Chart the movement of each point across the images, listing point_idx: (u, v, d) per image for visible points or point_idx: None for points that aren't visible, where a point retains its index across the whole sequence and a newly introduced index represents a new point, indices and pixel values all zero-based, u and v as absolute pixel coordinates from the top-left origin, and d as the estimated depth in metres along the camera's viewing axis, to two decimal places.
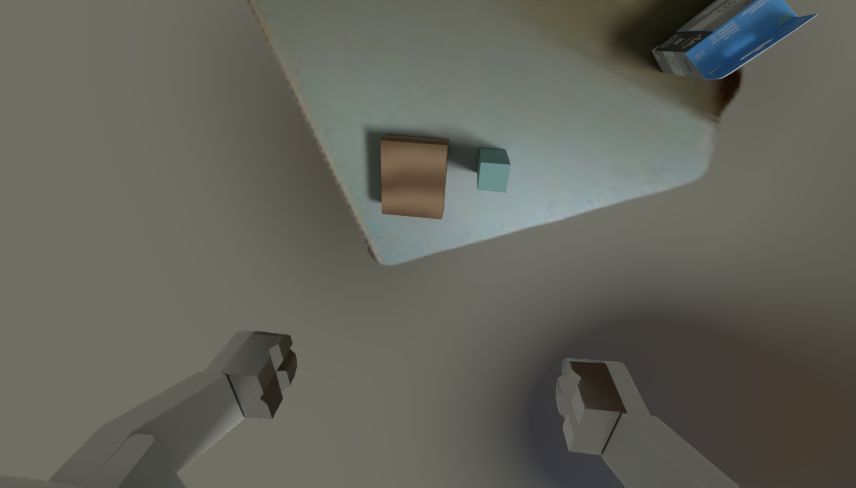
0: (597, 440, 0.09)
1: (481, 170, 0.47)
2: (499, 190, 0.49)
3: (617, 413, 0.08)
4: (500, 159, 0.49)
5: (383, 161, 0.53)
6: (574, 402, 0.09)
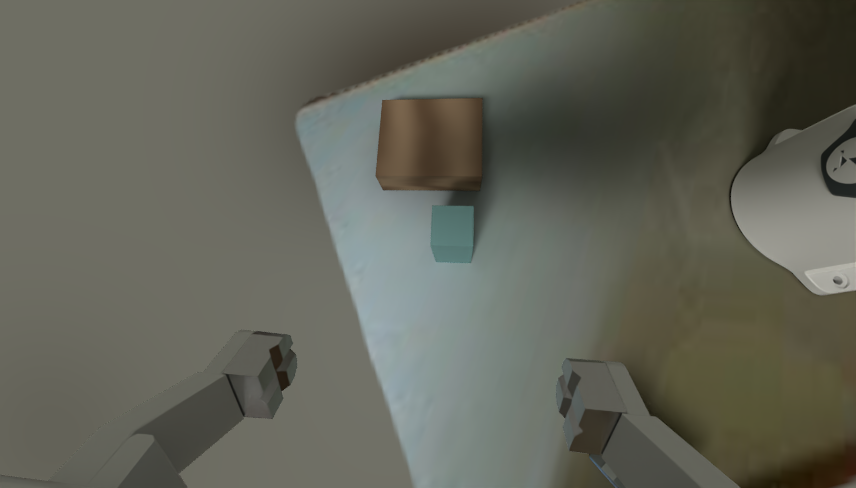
0: (597, 440, 0.09)
1: (461, 207, 0.33)
2: (433, 236, 0.33)
3: (617, 413, 0.08)
4: None
5: (455, 101, 0.41)
6: (575, 402, 0.09)
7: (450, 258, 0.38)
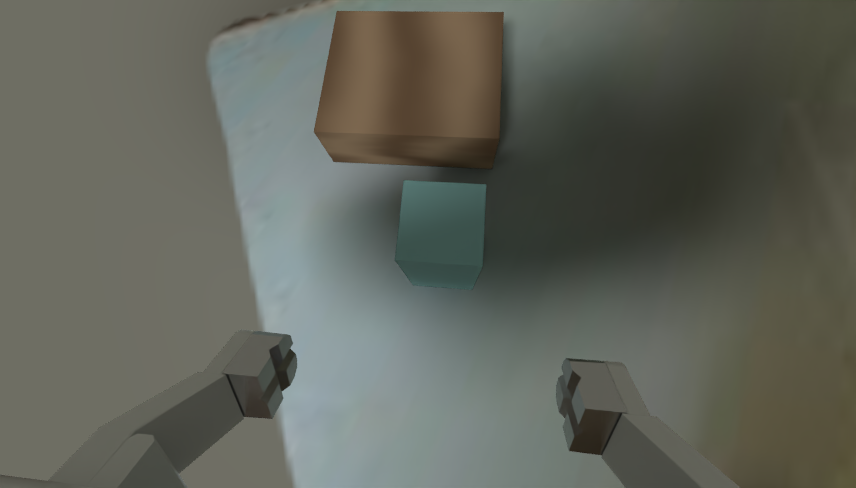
0: (597, 440, 0.09)
1: (462, 187, 0.16)
2: (401, 241, 0.16)
3: (617, 413, 0.08)
4: None
5: (457, 16, 0.24)
6: (574, 402, 0.09)
7: (437, 282, 0.21)
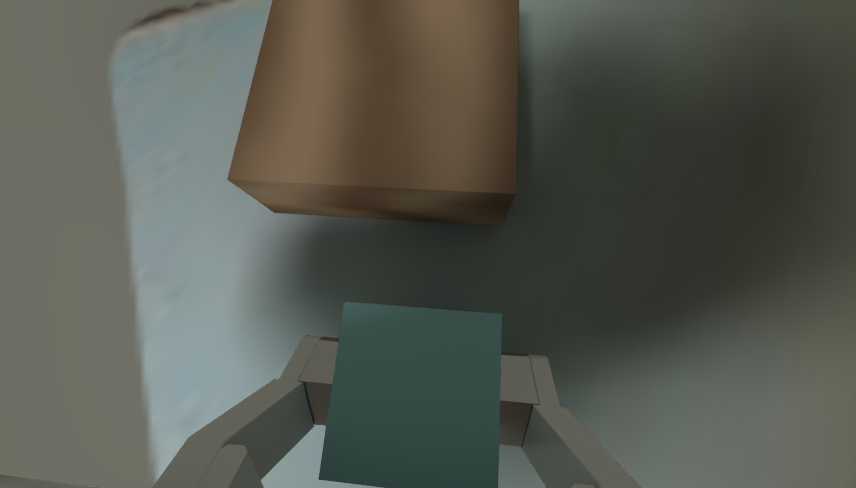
0: (515, 431, 0.09)
1: (455, 319, 0.08)
2: (333, 435, 0.08)
3: (529, 404, 0.08)
4: None
5: (451, 2, 0.16)
6: None
7: None
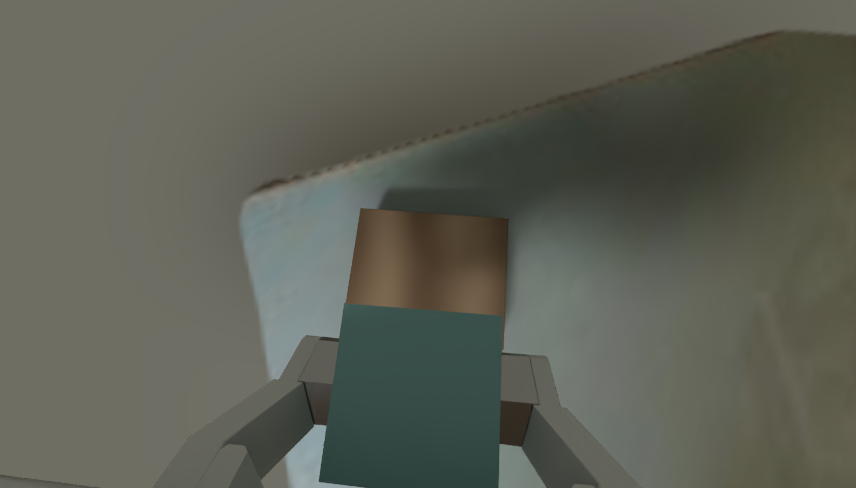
0: (515, 432, 0.09)
1: (456, 321, 0.08)
2: (333, 437, 0.08)
3: (529, 404, 0.08)
4: None
5: (468, 220, 0.27)
6: None
7: None
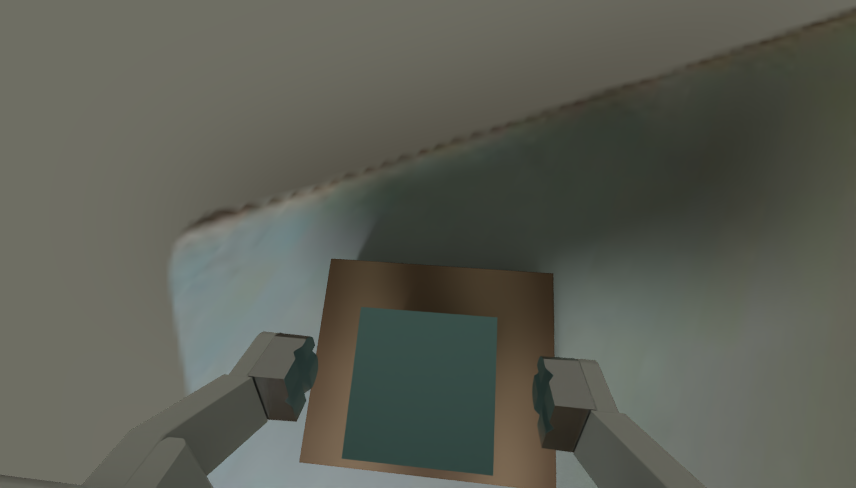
0: (568, 437, 0.09)
1: (457, 322, 0.10)
2: (353, 421, 0.09)
3: (586, 410, 0.08)
4: None
5: (492, 277, 0.18)
6: (547, 399, 0.09)
7: None
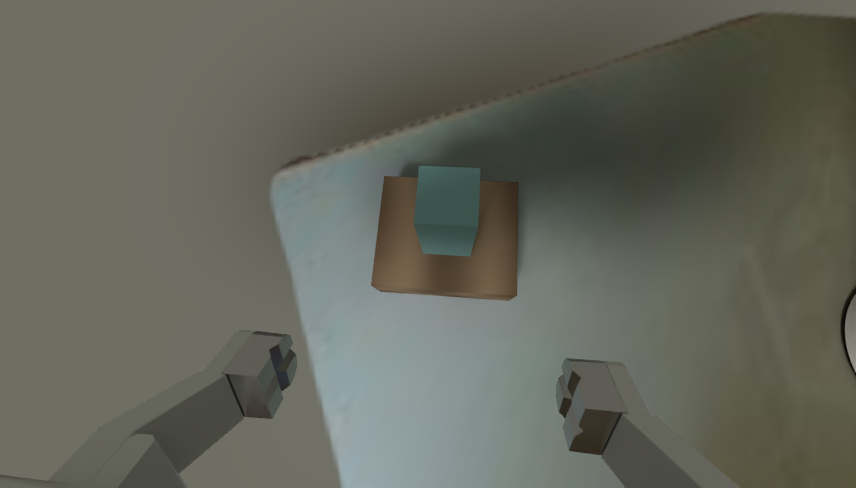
0: (597, 440, 0.09)
1: (462, 170, 0.22)
2: (418, 209, 0.22)
3: (617, 413, 0.08)
4: None
5: (481, 184, 0.30)
6: (575, 402, 0.09)
7: (442, 248, 0.27)
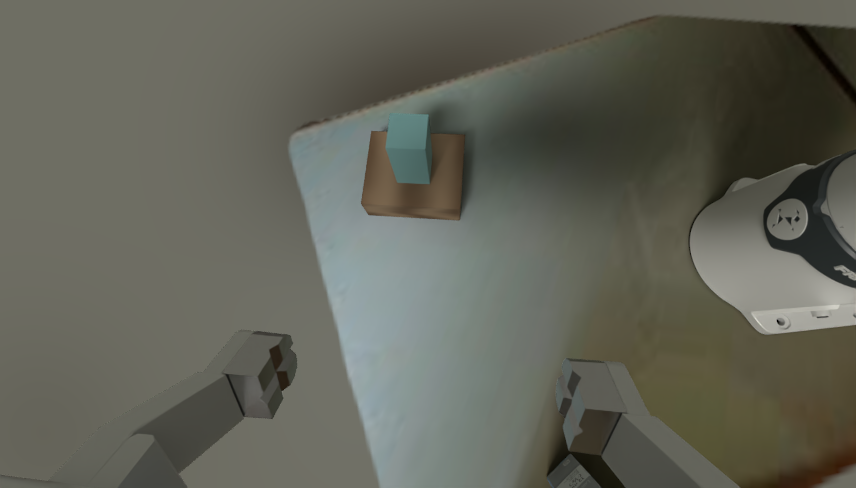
0: (597, 440, 0.09)
1: (417, 116, 0.35)
2: (388, 139, 0.34)
3: (617, 413, 0.08)
4: (427, 150, 0.36)
5: (439, 136, 0.43)
6: (575, 402, 0.09)
7: (409, 174, 0.40)
